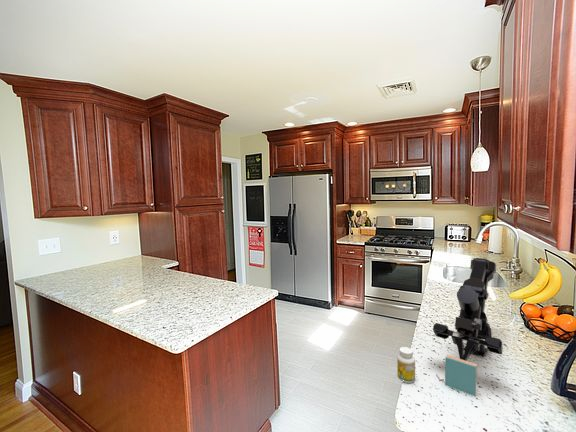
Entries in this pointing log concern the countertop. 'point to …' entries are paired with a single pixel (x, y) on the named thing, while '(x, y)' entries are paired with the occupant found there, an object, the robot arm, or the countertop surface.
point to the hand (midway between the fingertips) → (462, 364)
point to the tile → (461, 374)
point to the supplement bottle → (406, 365)
